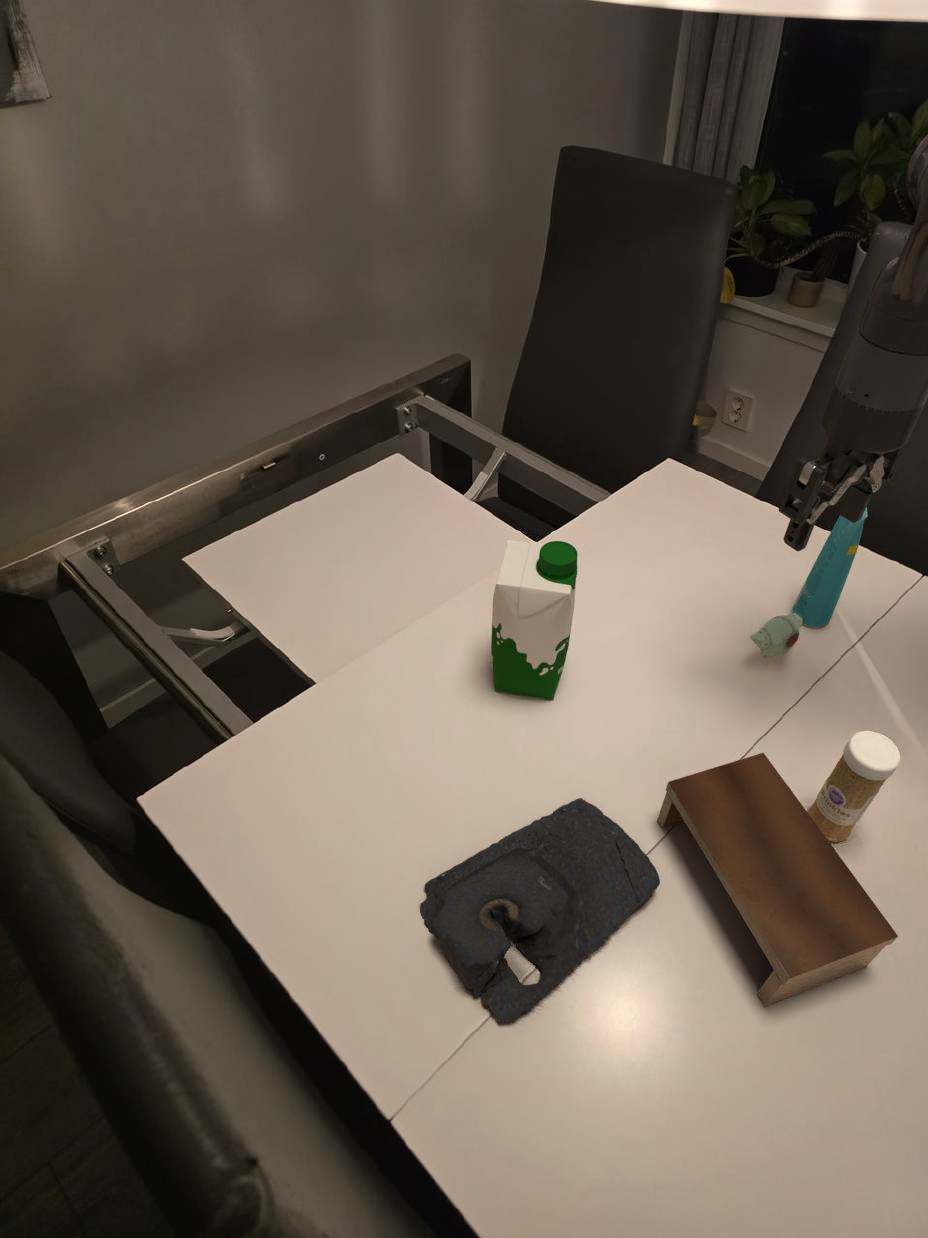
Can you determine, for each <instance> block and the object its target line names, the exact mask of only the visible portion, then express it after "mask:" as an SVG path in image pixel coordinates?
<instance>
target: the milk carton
mask: <svg viewBox="0 0 928 1238" xmlns="http://www.w3.org/2000/svg"><path fill="white" fill-rule="evenodd" d="M578 555H579V554H578V548H577V547H575V546H574V545H573V544H571V543H569V542H566V541H563V540H562V541H561V540H552V541H548V542H546V543H542V542H539V541H529V542H528V541H521V540H514V539H507V541H506V545H505V549H504V553H503V556H502V561H501V564H500V568H499V571H498V575H497V579H496V583H495V587H494V591H493V595H492V614H491V616H492V617H491V641H490V656H491V667H492V677H493V686H494V692H496V693H497V692H498V693H504V694H509V695H515V696H516V695H517V696H520V697H521V696H523V697H529V698H534V699H542V700H547V701H554V699H555V695H556V692H557V689H558V685H559V682H560V680H561V676H562V674H563V670H564V667H565V664H566V659H567V655H568V651H569V647H570V638H571V632H572V624H573V619H574V618H573V617H574V610H575V600H576V588H577V585H576V584H577V576H578Z"/></svg>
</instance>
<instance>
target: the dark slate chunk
mask: <svg viewBox="0 0 928 1238" xmlns="http://www.w3.org/2000/svg"><path fill="white" fill-rule="evenodd" d="M660 884H661V880H660V875H659V873H658V871H657V869H656V866H654V864H653V863H652V862H651V860H650V857H649V856H648V855H647V854H646V853H645V852H644V851H643V850H642V849H641V847H640V846H639V844H638V843H637V842H636V841H635V840H634V839H633V838H631V836H630V835H629V834H628V833H627V832H626V831H625V830H624V829H623V828H622V827H621V826H620V825H619V824H618V823H617V822H616V821H614V820H613V819H611V818H610V817H609V816H607V815H605V814H604V812H603V811H602V810H601V809H600V808H599V807H598V806H596V805H594V804H592V803H590V802H588V801H586V799H584V798H581V797H579V798H576V799H574V800H572V801H569V803H566V804H563V805H561V806H559V807H558V808H556V809H555V810H553V812H552V813H550V814H548V815H544V816H541V817H540V818H539V819H535V820H533V821H532V822H531V823H530V824H527V825H525V826H523V827H521V828H519V829H518V830H514V831H513V832H511V833H510V834H508V835H506V836H504V837H502V838H501V839H500V840H498V841H497V842H494V843H493V842H492V843H491V844H490V845H489V846H488V847H486V848H484V849H482V850H479V851H478V852H477V853H475V854H473V855H472V856H470V857H468V858H466V859H465V860H464V861H462V862H460V863H458V864H455V865H454V866H452V867H451V868H450V869H447V870H445V871H443V872H442V873H440V874H438V875H437V876H436V877H434V878H430V879H429V880H428V881H427V882H426V883H424V890H425V891H426V898H425V899H424V900H423V901H422V902H420V903H419V905H420V907H419V909H420V913H421V916H422V917H423V922H424V925H425V926H426V927H427V928H428V932H429V933H431V934H433V935H434V936H435V938H436V939H438V940H439V944H440V947H441V949H442V951H443V954H444V956H445V958H446V960H447V961H448V963H449V964H450V965H451V967H452V969H453V970H454V971H455V973H457V976H459V978H460V980H461V981H462V983H463V984H464V986H465V987H466V989H469V990H472V991H473V995H474V996H475V997H478V996H480V995H481V996H480V997H481V1000H482V1003H483V1006H485V1007H489V1009H490V1012H491V1014H493V1015H494V1016H496V1019H497V1021H498V1022H500V1023H505V1022H513V1021H515V1020H517V1019H518V1018H519V1017H520V1016H521V1014H523V1013H525V1012H527V1011H528V1010H530V1009H531V1008H533V1007H534V1006H535V1005H536V1003H538V1001H539V1000H540V999H542V998H543V997H544V996H545V995H546V994H547V993H548V992H550V991H552V990H553V989H554V988H555V986H557V985H558V984H559V983H561V982H562V981H563V980H564V979H565V978H566V977H568V974H569V973H571V972H573V971H574V970H575V968H577V967H578V966H579V964H580V963H581V962H583V961H584V960H585V958H586V956H588V955H590V954H593V953H594V951H595V950H596V948H598V947H599V946H600V945H601V944H603V943H604V942H606V941H607V940H608V939H609V938H610V937H611V935H612V933H614V931H615V928H617V927H619V926H621V924H623V922H624V921H625V920H626V918H627V917H629V916H630V915H631V914H632V913H633V912H634V911H635V909H636V908H637V907H638V906H640V904H642V903H644V902H645V903H646V902H647V901H648V900H649V899H650V898H652V896H653V895H654V892H655V891H656V890H657V889H658V887H659V886H660ZM507 936H510V937H512V938H514V941H515V946H516V947H517V948H518V950H519V951H520V952H521V953H522V954H524V956H526V957H527V958H528V959H529V961H531V962H532V963H533V964H534V965H535V966H536V967H537V968H538V969H539V970H540V972H541V974H540V978H539V980H538V982H536V983H531V984H530V983H529V984H523V983H522V982H521V981H520V979H519V977H518V976H517V975H516V973H515V972H514V971H513V970H512V968H511V967H510V966H509V962H508V960H507V958H505V955H507V953H508V951H509V950H510V948H511V946H512V943H511V942H510V940H509V939H508V938H507Z"/></svg>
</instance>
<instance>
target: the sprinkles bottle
mask: <svg viewBox="0 0 928 1238" xmlns="http://www.w3.org/2000/svg"><path fill="white" fill-rule="evenodd" d="M900 763H901V753H900V750H899V748H898V747H897V745H896V744H895V743H894V742H893V741H892V740H891V739H890V738H888V737H887V736H885V735H883V734H882V733H879V732H876V731H872V730H861V731H858V732H855V733H854V734H853V735H852V736H850V738H849V739H848V741H847V742H846V744H845V746H844V748H843V752H842V755H841V757H840V758H839V760H838V761H837V762H836V765H835V766H834V768H833V769H832V771H831V773H830V774H829V776H827V778H826V780H825V781H824V783H823V785H822V786H821V788H820V789H819V792H818V793H817V795H816V798H815V800H814V802H813V803H812V805H811V806H810V807H809V808H808V809H807V810H806V811H807V813H808V814H809V815H810V817H811V818H812V819H813V821H814V822H815V824H816V825H817V826H818V828H819V829H820V830H821V832H822V833H823V834H824V836H825V837H826V838H827V840H828V841H829V842H834V843H838V842H843V841H845V840H847V839H848V838H849V837H850V835H851V833H852V831H853V829H854V827H855V826H856V824H857V823H858V822H859V821H860V820H861V818H862V817H863V815H864V814H865V812H866V811H867V810H868V808H869V806H870V805H871V804H872V802H873V801H874V799H875V798H876V796H877V795H878V793H879V792H880V790H881V788H882V786H883V785H884V783H885V782H886V781H887V780H888V779H890V778H891V777H892V776H893V774H894V773H895V771H896V770H897V769H898V767H899V766H900Z"/></svg>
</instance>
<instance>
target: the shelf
mask: <svg viewBox="0 0 928 1238" xmlns="http://www.w3.org/2000/svg"><path fill="white" fill-rule="evenodd" d="M662 801H663V802H662V805H661V808H660V810H659V813H658V816H657V818H656V822H657V823H658V824H659V827H660V828H661V830H666V829H668V828H671V827H675V826H678V825H681V824H684V823H685V825H686V826H687V828H688V829H689V831H690V833H691V834H692V836H693V838H694V839H695V841H696V843H697V844H698V846H699V848H700V850H701V851H702V853H703V855H704V856H705V858H706V859H707V861H708V863H709V864H710V866H711V868H712V869H713V871H714V872H715V875H716V877H717V878H718V880H719V881H720V883H721V885H722V886H723V888H724V889H725V892H727V894H728V896H729V898H730V899H731V900H732V903H733V905H734V906H735V907H736V910H738V913H739V914H740V916H741V917H742V919H743V921H744V922H745V924H746V926H747V928H748V929H749V931H750V932H751V933H752V935H753V937H754V939H755V941H756V943H757V945H758V946H759V947H760V949H761V950H762V952H763V954H764V956H765V957H766V959H767V960H768V962H769V964H770V965H771V967H772V969H773V970H772V972H771V973H770V975H769V976H768V977H767V979H766V980H765V981H764V983H763V984H762V985H761V987H760V988H759V990H758V991H757V993H756V995H757V996H758V999H759V1000H760V1002H761V1004H762V1005H763V1007H767V1006H769V1005H772V1004H775V1003H777V1002H780V1001H782V1000H785V999H787V998H790V997H791V996H795V995H797V994H800V993H802V992H806V991H808V990H810V989H813V988H816V987H818V986H821V985H823V984H825V983H828V982H831V981H833V980H835V979H838V978H841V977H843V976H845V975H848V974H851V973H854V972H856V971H858V970H861V969H863V968H866V967H868V966H869V965H870V964H871V962H872V961H874V959H875V958H876V957H877V956H878V955H879V954H880V953H881V952H882V951H883V949H885V948H886V946H889V945H892V944H893V943H894V942H895V941H896V940H897V939H898V938H899V935H898V934H897V932H896V931H895V930H894V928H893V927H892V926H891V924H890V923H889V921H888V920H887V919H886V917H885V916H884V915H883V913H882V912H881V910H880V909H879V908H878V906H877V905H876V904H875V902H874V901H873V900H872V898H871V897H870V896H869V894H868V893H867V892H866V890H865V889H864V887H863V885H861V884H860V882H859V881H858V879H857V878H856V877H855V875H854V873H852V871H851V870H850V868H849V867H848V865H847V864H846V863H845V862H844V860H843V859H842V857H841V856H840V854H839V853H838V852H837V851H836V849H835V847H834V846H833V845H832V844H831V842H830V841H828V840H827V838H826V837H825V836H824V834H823V833H822V832H821V830H820V829H819V828H818V826H817V825H816V824H815V822H814V821H813V819H812V818H811V817H810V815H809V814H808V813H807V811H808V810H806V808H805V807H804V806H803V804H802V803H801V802H800V800H799V799H798V797H797V796H796V795H795V793H794V792H793V790H792V789H791V788H790V787H789V785H788V784H787V783H786V781H785V779H783V777H782V776H781V774H780V773H779V772H778V770H777V769H776V768H775V766H774V765H773V764H772V762H771V761H770V759H769V758H768V757H767V755H766V754H765V753H764V752H760V753H757V754H755V755H750V756H748V757H744V758H742V759H738V760H734V761H731V762H728V763H725V764H721V765H718V766H715V767H712V768H709V769H706V770H703V771H699V772H696V773H692V774H689V775H686V776H683V777H680V778H676V779H673V780H670V781H667V784H666V788H665V794H664V798H663V800H662Z"/></svg>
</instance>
